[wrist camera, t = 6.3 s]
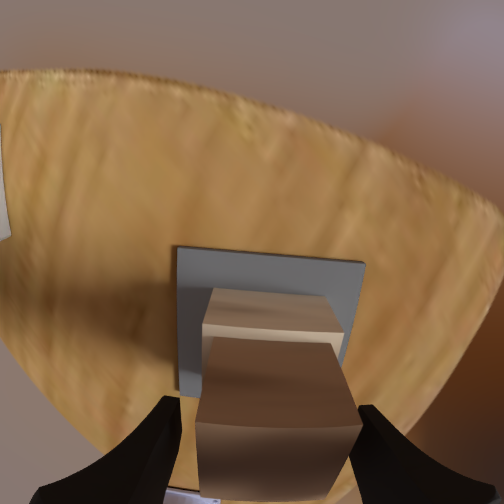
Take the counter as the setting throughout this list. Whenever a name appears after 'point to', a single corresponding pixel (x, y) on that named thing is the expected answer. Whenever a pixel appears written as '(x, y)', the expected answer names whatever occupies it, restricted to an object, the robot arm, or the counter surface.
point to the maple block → (269, 319)
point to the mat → (254, 279)
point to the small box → (3, 205)
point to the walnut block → (273, 421)
